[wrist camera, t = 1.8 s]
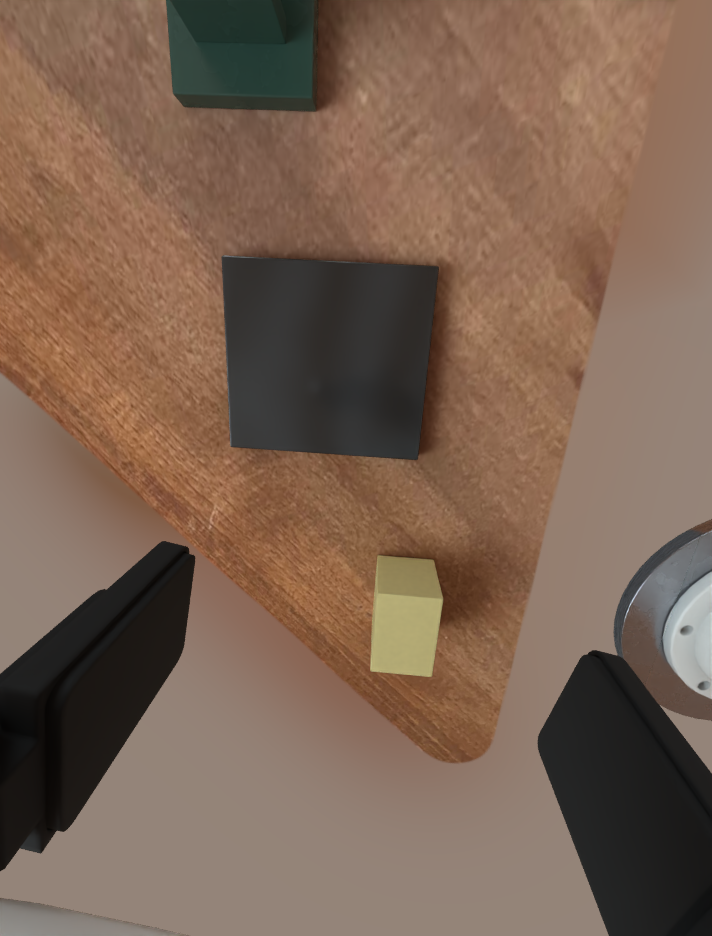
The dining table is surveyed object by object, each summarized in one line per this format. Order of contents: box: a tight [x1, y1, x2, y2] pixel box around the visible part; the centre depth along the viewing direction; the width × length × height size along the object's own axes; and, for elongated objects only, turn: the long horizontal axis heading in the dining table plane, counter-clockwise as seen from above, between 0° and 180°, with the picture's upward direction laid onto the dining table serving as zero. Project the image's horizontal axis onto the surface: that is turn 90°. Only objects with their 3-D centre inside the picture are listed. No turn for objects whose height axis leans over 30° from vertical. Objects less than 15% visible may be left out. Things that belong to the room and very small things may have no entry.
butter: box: [370, 555, 443, 677], centre depth 26 cm, size 4×6×4 cm, turn 177°
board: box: [222, 256, 439, 460], centre depth 23 cm, size 12×11×1 cm
